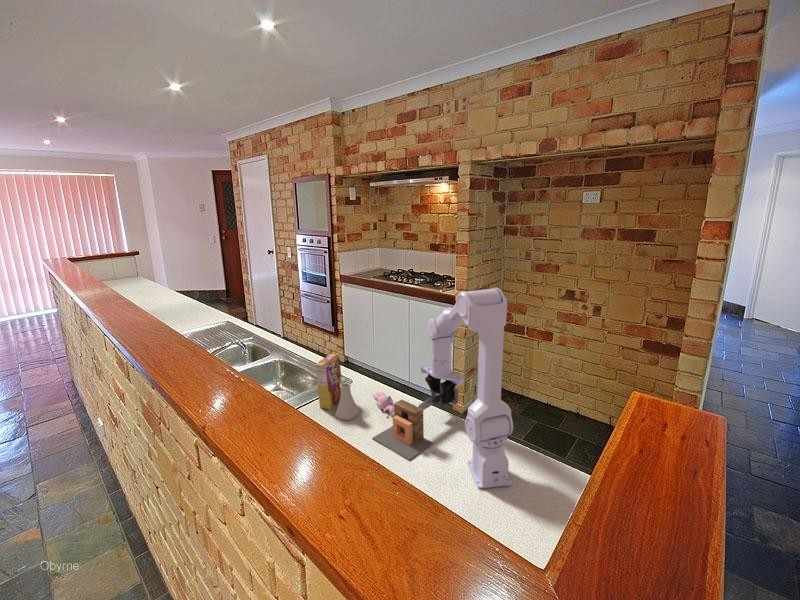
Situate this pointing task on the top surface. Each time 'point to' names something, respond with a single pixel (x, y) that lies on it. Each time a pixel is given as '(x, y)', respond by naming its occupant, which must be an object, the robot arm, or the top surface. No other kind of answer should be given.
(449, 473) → the top surface
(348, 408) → the flask
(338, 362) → the candy box
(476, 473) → the robot arm
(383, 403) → the pink toy animal
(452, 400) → the shaft
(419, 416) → the bracket
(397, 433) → the spacer
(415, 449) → the mat
